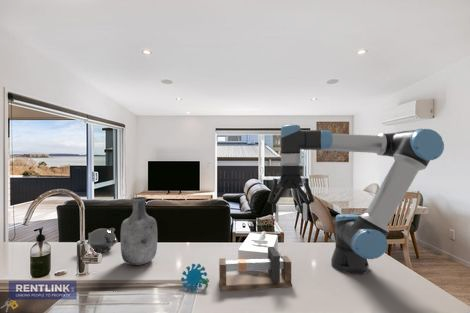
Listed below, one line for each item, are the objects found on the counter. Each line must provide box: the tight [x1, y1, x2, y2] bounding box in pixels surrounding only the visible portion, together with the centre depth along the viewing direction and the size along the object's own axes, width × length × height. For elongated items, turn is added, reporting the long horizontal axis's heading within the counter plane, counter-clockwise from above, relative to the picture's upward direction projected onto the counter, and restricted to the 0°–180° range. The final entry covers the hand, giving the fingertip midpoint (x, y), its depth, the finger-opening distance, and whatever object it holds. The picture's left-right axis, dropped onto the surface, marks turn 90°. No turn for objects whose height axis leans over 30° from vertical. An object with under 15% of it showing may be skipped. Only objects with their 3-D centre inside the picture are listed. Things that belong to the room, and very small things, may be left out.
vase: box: [120, 196, 158, 266], centre depth 123 cm, size 16×16×30 cm
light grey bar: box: [226, 257, 284, 273], centre depth 104 cm, size 25×3×3 cm, turn 95°
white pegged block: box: [237, 231, 279, 273], centre depth 126 cm, size 14×25×11 cm, turn 165°
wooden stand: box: [218, 255, 293, 292], centre depth 104 cm, size 27×10×9 cm, turn 95°
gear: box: [180, 263, 210, 292], centre depth 102 cm, size 11×6×10 cm
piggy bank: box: [87, 227, 119, 254], centre depth 138 cm, size 11×15×12 cm
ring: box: [267, 247, 281, 283], centre depth 105 cm, size 2×10×10 cm, turn 5°
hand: (290, 220), depth 105 cm, fingers open, 11 cm apart
